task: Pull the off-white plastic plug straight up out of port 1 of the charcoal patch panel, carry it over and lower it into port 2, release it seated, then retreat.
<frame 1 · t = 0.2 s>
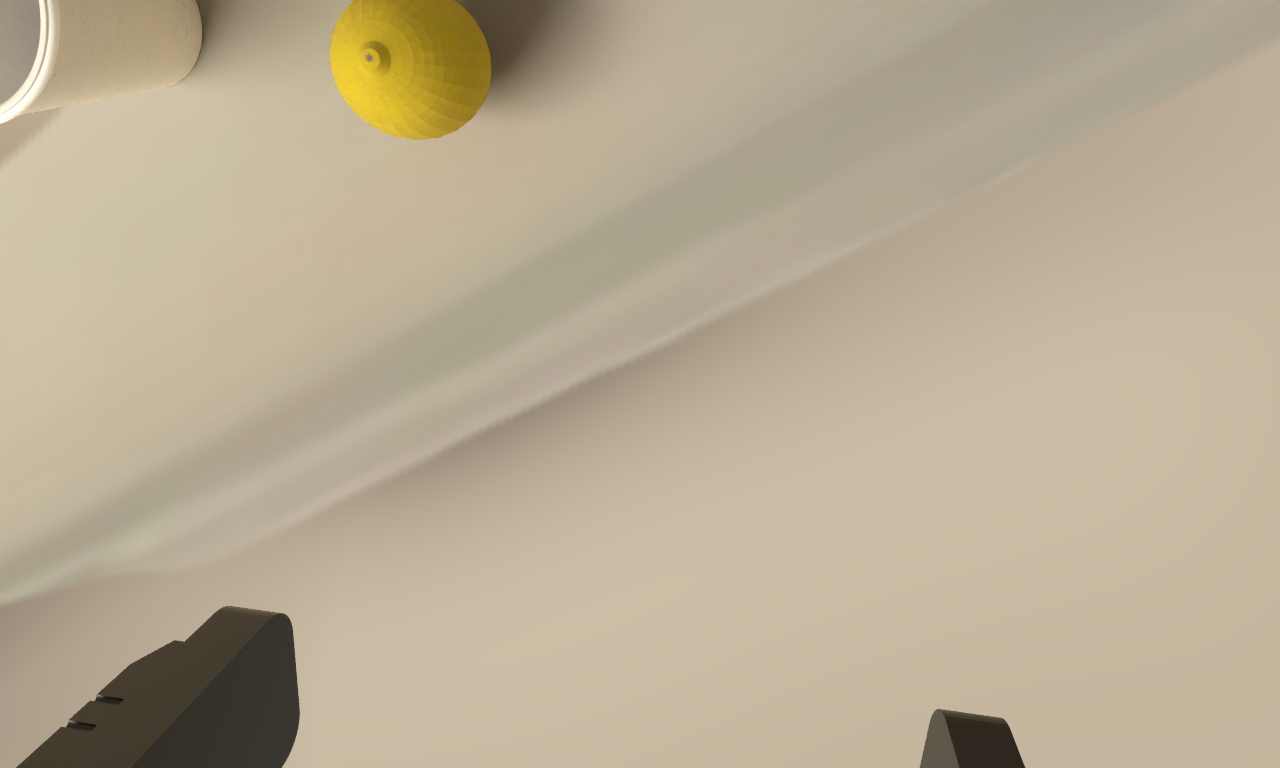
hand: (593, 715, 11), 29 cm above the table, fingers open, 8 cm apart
lemon: (452, 67, 36), on the table
dixie cup: (145, 21, 37), on the table
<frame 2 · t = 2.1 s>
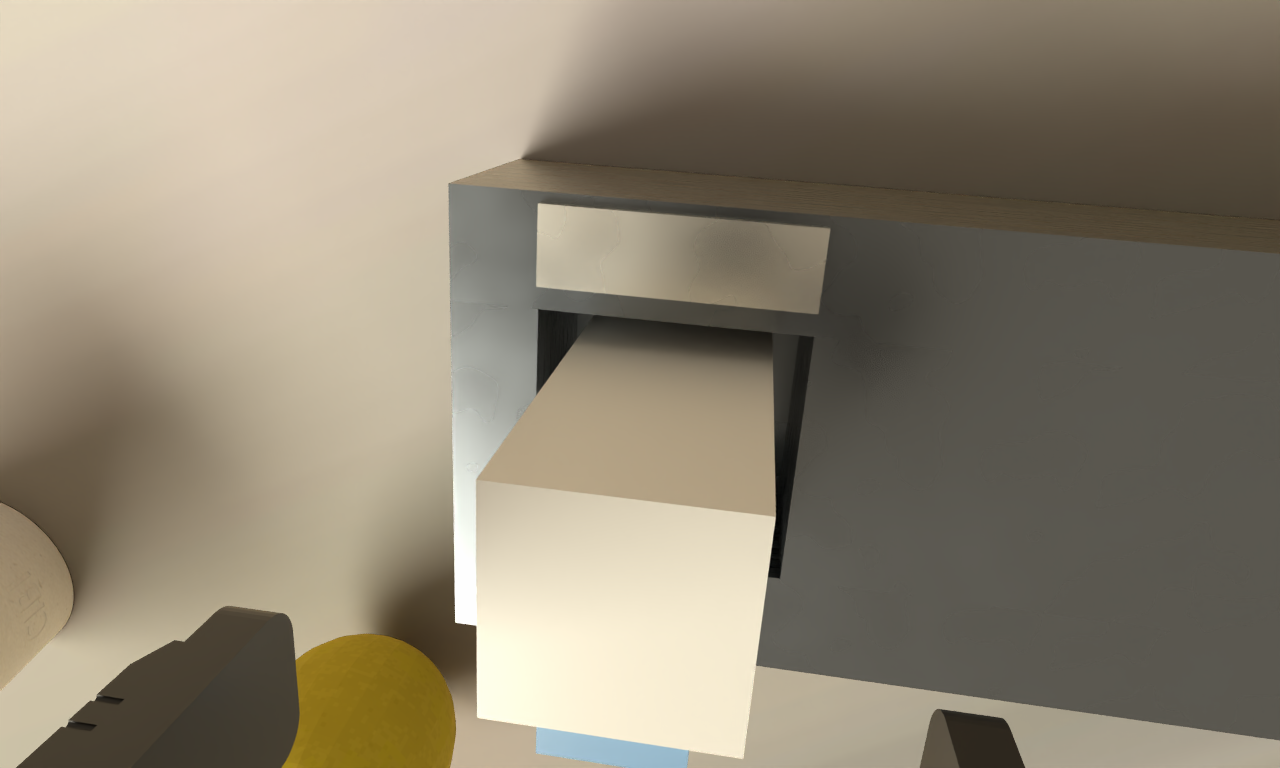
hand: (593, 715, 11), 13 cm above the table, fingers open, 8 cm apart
plug: (681, 383, 21), point 1 cm above the table, touching panel
lemon: (406, 653, 27), on the table
panel: (1003, 403, 21), on the table
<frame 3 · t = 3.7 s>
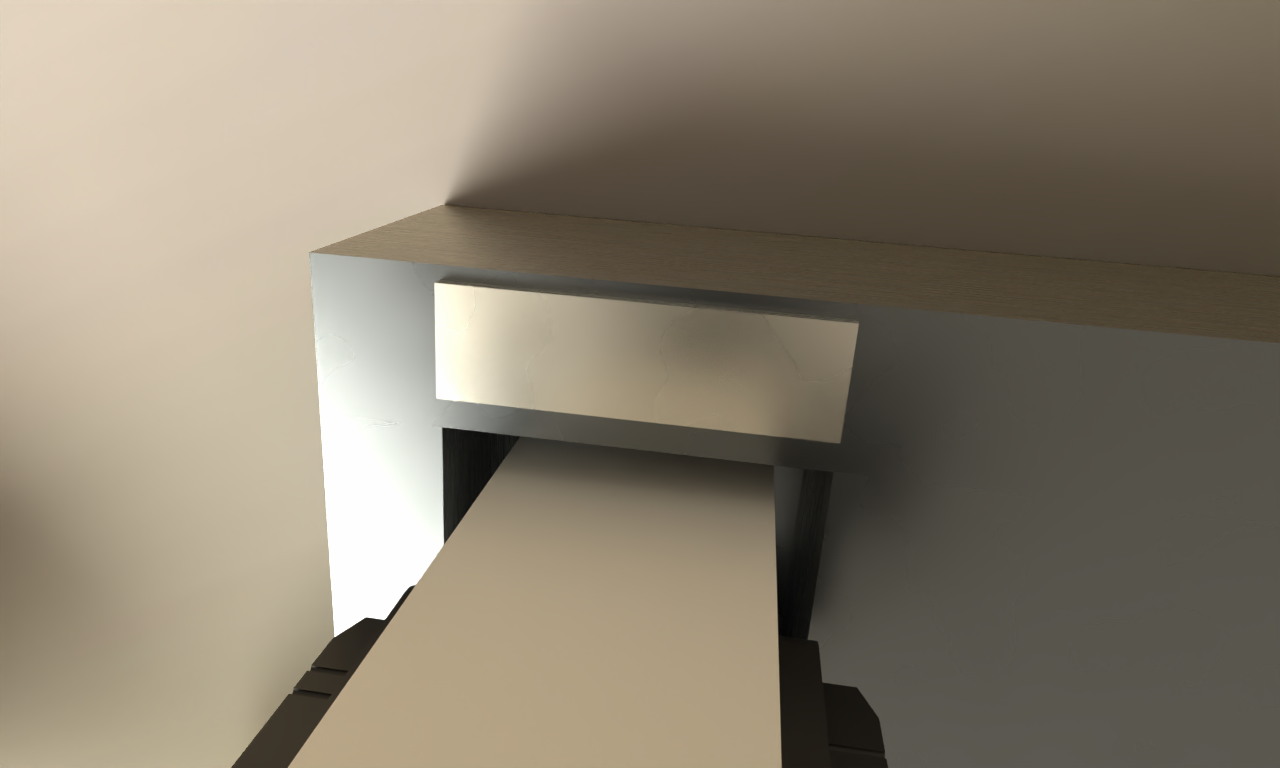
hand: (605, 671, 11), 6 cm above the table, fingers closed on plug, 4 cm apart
plug: (654, 495, 16), point 1 cm above the table, touching gripper, panel
panel: (1074, 522, 16), on the table
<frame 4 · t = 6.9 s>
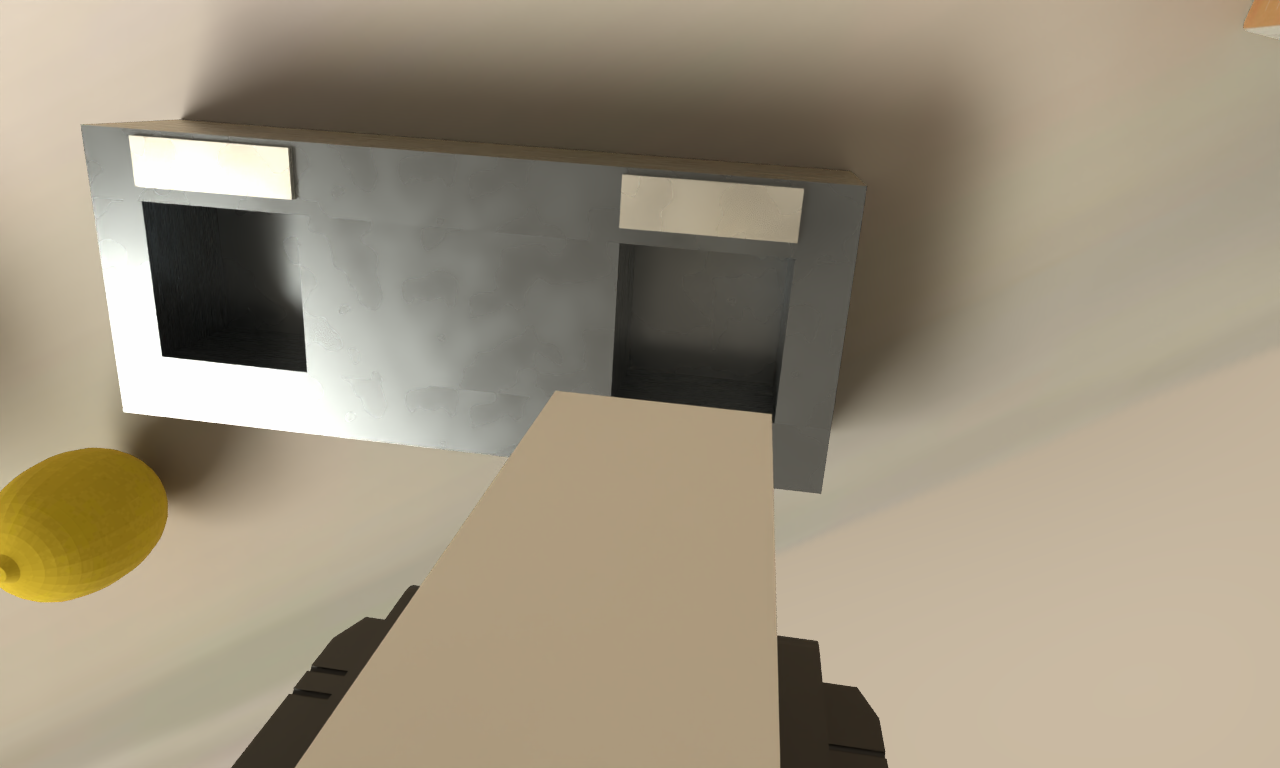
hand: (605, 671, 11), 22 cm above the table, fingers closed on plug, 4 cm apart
plug: (654, 499, 16), point 16 cm above the table, touching gripper
lemon: (150, 476, 38), on the table
panel: (499, 279, 33), on the table
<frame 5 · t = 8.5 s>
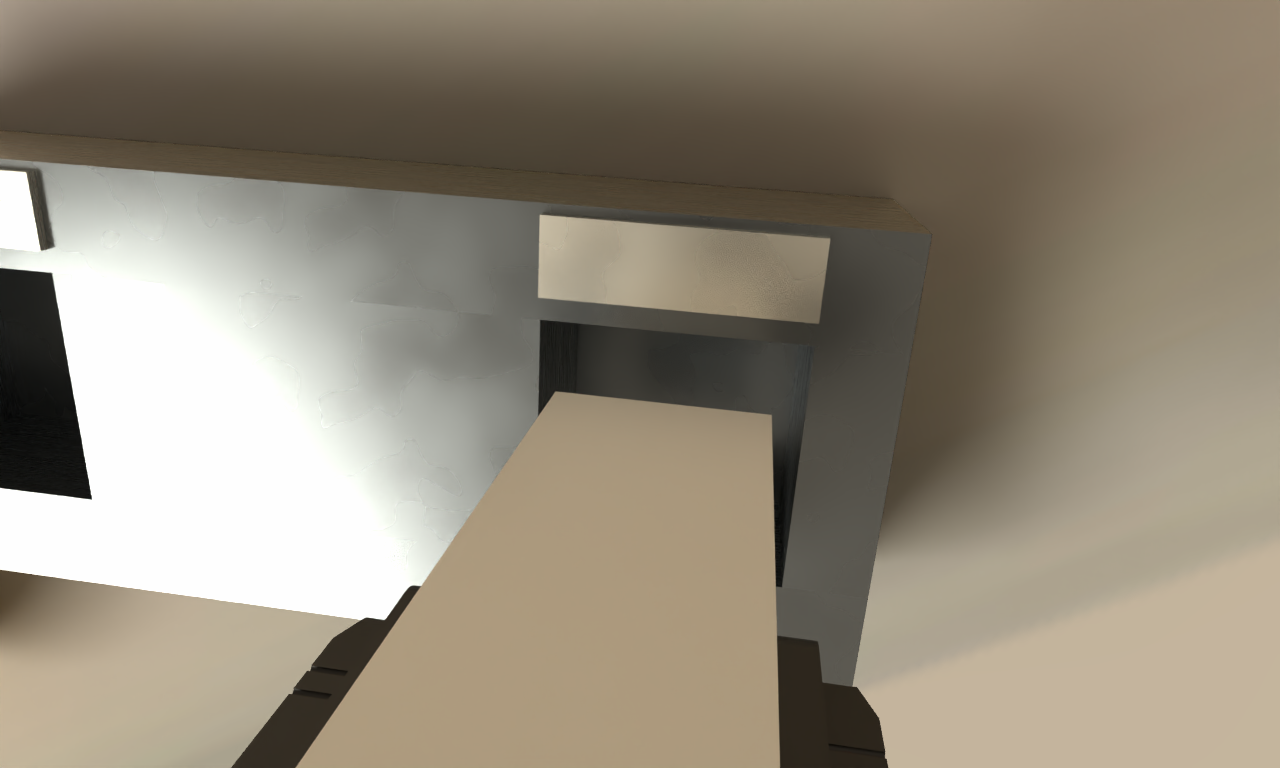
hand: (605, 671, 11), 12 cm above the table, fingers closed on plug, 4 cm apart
plug: (654, 500, 16), point 6 cm above the table, touching gripper
panel: (392, 349, 23), on the table
when the fingers open (8 cm above the table, at t = 10.0 s): plug drops 2 cm, resting on panel.
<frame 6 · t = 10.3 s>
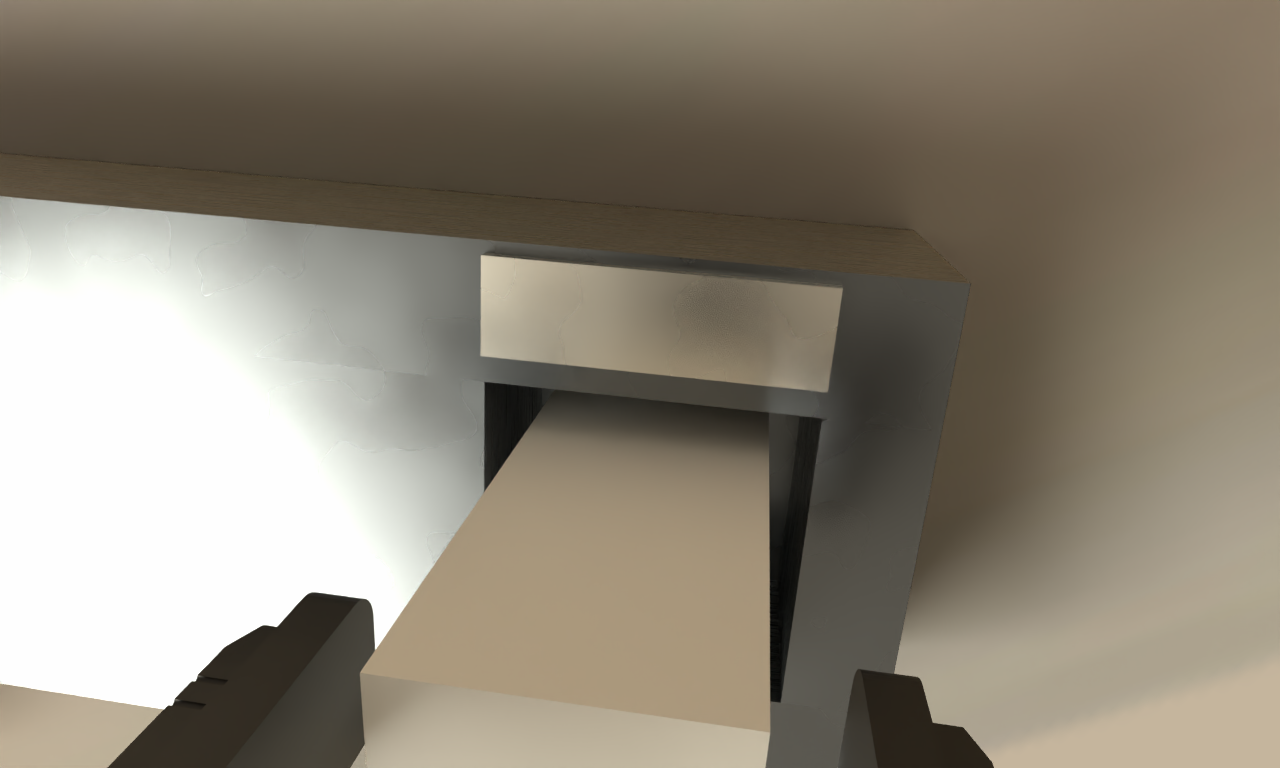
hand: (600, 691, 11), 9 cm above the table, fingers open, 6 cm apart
plug: (664, 458, 18), point 1 cm above the table, touching panel
panel: (330, 398, 20), on the table
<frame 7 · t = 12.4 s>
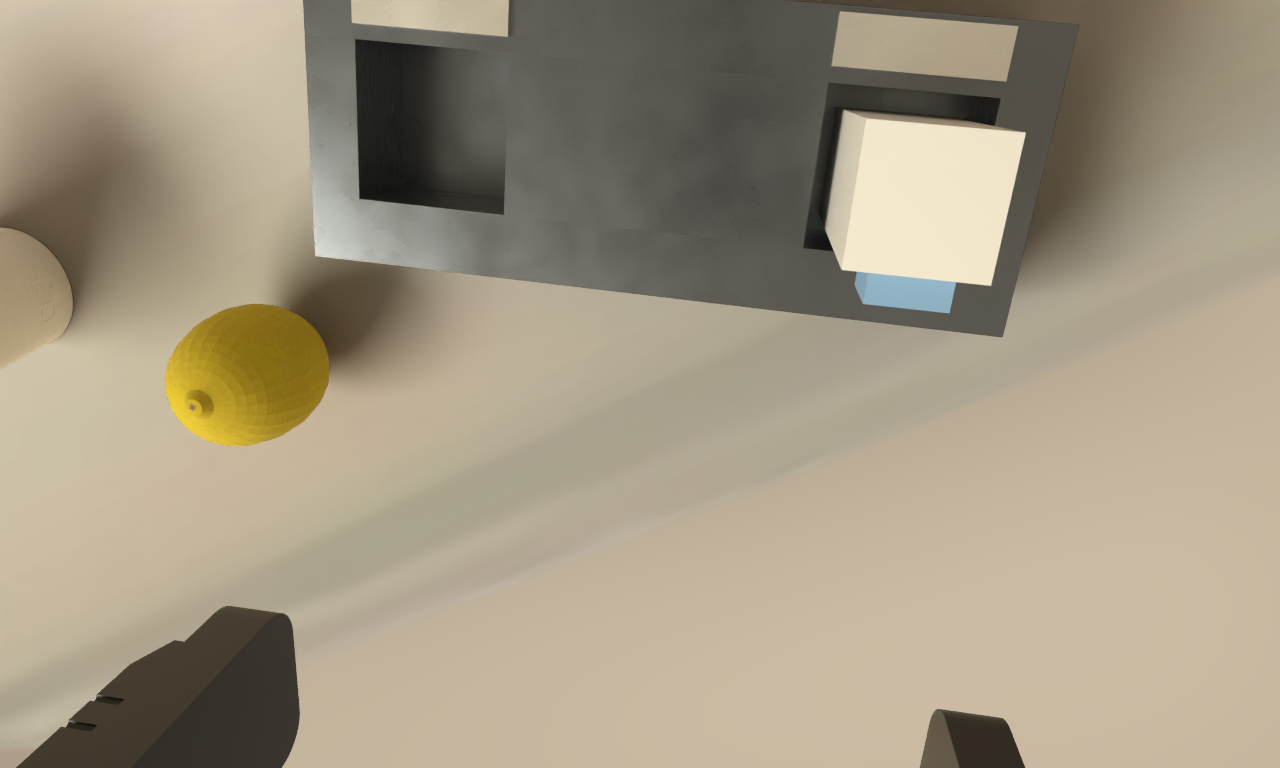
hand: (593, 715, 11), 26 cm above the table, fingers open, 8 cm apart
plug: (881, 167, 32), point 1 cm above the table, touching panel
lemon: (304, 343, 39), on the table
panel: (672, 141, 34), on the table
dixie cup: (20, 286, 40), on the table
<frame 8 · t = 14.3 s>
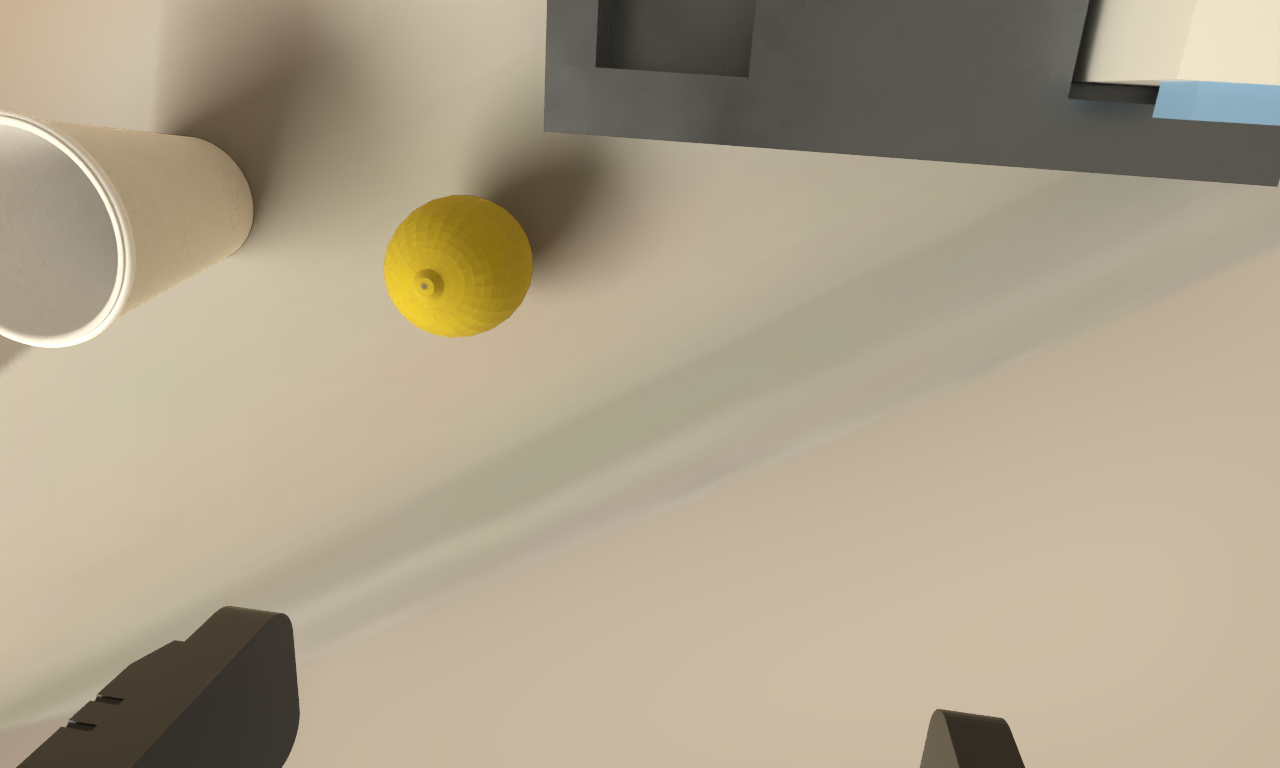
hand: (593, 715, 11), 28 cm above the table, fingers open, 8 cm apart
plug: (1124, 27, 31), point 1 cm above the table, touching panel
lemon: (492, 248, 38), on the table
panel: (896, 14, 33), on the table
dixie cup: (198, 199, 39), on the table
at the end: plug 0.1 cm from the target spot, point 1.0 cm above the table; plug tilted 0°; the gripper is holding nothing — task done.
